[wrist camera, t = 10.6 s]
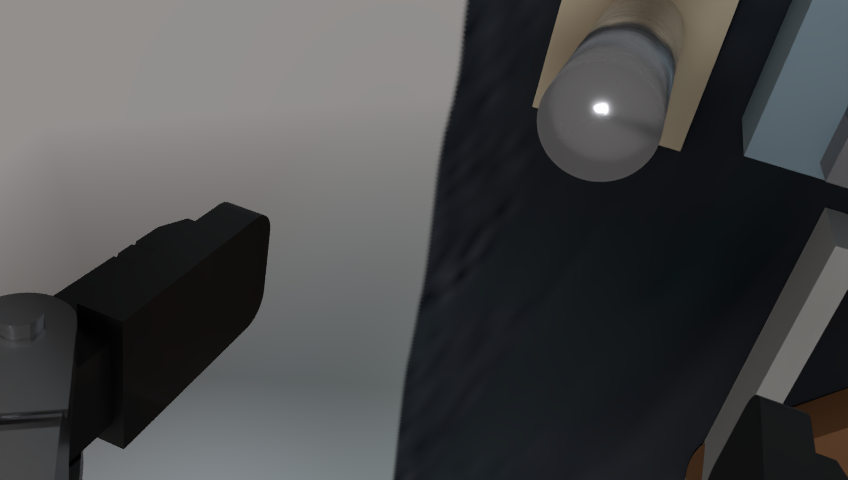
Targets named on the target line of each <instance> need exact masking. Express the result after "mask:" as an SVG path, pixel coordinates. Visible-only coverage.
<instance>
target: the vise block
mask: <svg viewBox="0 0 848 480" xmlns="http://www.w3.org/2000/svg"><path fill="white" fill-rule="evenodd" d="M742 130H743V147H744V156H746V157H749V158H752V159H756V160H759V161H762V162H766V163H769V164H772V165H776V166H779V167H782V168H786V169H789V170H792V171H796V172H799V173H802V174H806V175H809V176H812V177H816V178H819V179H823V180H825V182H828V183H832V184H835V185H838V186H842V187H845V188H848V0H792V2H791V4H790V6H789V9H788V11H787V13H786V16H785V18H784V20H783V23H782V25H781V27H780V30H779V32H778V34H777V37H776V39H775V42H774V44H773V46H772V49H771V51H770V53H769V56H768V58H767V60H766V63H765V65H764V67H763V70H762V72H761V74H760V77H759V79H758V81H757V84H756V86H755V89H754V91H753V93H752V96H751V98H750V100H749V103H748V105H747V107H746V110H745V112H744V114H743V117H742Z"/></svg>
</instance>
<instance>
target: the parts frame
mask: <svg viewBox="0 0 848 480" xmlns="http://www.w3.org/2000/svg"><path fill="white" fill-rule="evenodd" d="M847 289H848V214H845V213H842V212H839V211H836V210H832V209H829V208H826V207H825V209H824V211H823V213H822V214H821V216H820V218H819V220H818V222H817V224H816V226H815V228H814V230H813V232H812V234H811V236H810V238H809V240H808V242H807V244H806V245H805V247H804V249H803V251H802V253H801V255H800V257H799V259H798V261H797V263H796V265H795V267H794V269H793V271H792V273H791V275H790V276H789V278H788V280H787V282H786V284H785V286H784V288H783V290H782V292H781V294H780V296H779V298H778V300H777V302H776V304H775V306H774V307H773V309H772V311H771V313H770V315H769V317H768V319H767V321H766V323H765V325H764V327H763V329H762V331H761V333H760V335H759V337H758V338H757V340H756V342H755V344H754V346H753V348H752V350H751V352H750V354H749V356H748V358H747V360H746V362H745V364H744V366H743V368H742V369H741V371H740V373H739V375H738V377H737V379H736V381H735V383H734V385H733V387H732V389H731V391H730V393H729V395H728V397H727V399H726V400H725V402H724V404H723V406H722V408H721V410H720V412H719V414H718V416H717V418H716V420H715V422H714V424H713V426H712V428H711V430H710V431H709V433H708V435H707V437H706V439H705V441H704V443H705V451H704V463H703V473H702V480H708V478H709V475H710V473H711V470H712V468H713V466H714V464H715V462H716V460H717V459H718V457H719V455H720V453H721V451H722V449H723V447H724V446H725V444H726V442H727V440H728V438H729V436H730V434H731V432H732V431H733V429H734V427H735V425H736V423H737V421H738V419H739V418H740V416H741V414H742V412H743V410H744V408H745V406H746V405H747V403H748V401H749V400H750V399H751V398H752V397H753V396H754V395H759V396H762V397H765V398H768V399H771V400H773V401H776V402H779V403H782V404H783V402H784V400H785V399H786V397H787V395H788V393H789V392H790V390H791V388H792V386H793V385H794V383H795V381H796V379H797V378H798V376H799V374H800V372H801V370H802V369H803V367H804V365H805V363H806V362H807V360H808V358H809V356H810V355H811V353H812V351H813V349H814V348H815V346H816V344H817V342H818V341H819V339H820V337H821V335H822V333H823V332H824V330H825V328H826V326H827V325H828V323H829V321H830V319H831V318H832V316H833V314H834V312H835V311H836V309H837V307H838V305H839V304H840V302H841V300H842V298H843V296H844V295H845V293H846V291H847ZM704 443H703V444H704ZM685 480H686V478H685Z"/></svg>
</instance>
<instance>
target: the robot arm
mask: <svg viewBox="0 0 848 480" xmlns="http://www.w3.org/2000/svg"><path fill="white" fill-rule="evenodd" d="M269 236H270V222H269V219H268V217H267V216H264V215H262V214H259V213H256V212H254V211H251V210H248V209H245V208H242V207H239V206H237V205H234V204H231V203H228V202H224V203H221V204H219V205H218V206H216V207H215V208H214V209H212V210H211V211H209V212H208V213H206V214H205V215H203V216H202V217H201V218H199V219H198V220H196V221H193V220H190V219H185V220H181V221H178V222H174V223H171V224H167V225H164V226H160V227H158V228H156V229H155V230H153V231H152V232H150V233H148V234H147V235H145V236H144V237H142V238H141V239H139V240H138V241H136V244H135V245H130V246H129V247H127V248H126V249H124V250H123V251H121V252H120V253H118V256H117V257H112V258H110V259H109V260H107V261H106V262H105V263H103V264H101V265H100V266H98V267H97V268H95V269H94V270H92V271H91V272H89V273H88V274H86V275H84V276H83V277H81V278H80V279H78V280H77V281H75V282H74V283H72V284H71V285H69V286H68V287H66V288H65V289H63V290H62V291H60V292H59V293H57V294H55V295H54V296H51V295H47V294H40V293H16V294H9V295H5V296H1V297H0V480H82V476H83V450H84V449H85V448H86V447H87V446H88V445H89V444H90V443H91V442H92V441H93V440H94V439H96V438H97V437H98V438H100V439H102V440H105V441H107V442H109V443H111V444H113V445H116V446H118V447H120V448H122V449H124V448H125V447H126V446H127V445H128V444H129V443H131V441H133V439H135V438H136V437H137V436H138V435H139V434H140V433H141V431H143V430H144V429H145V427H147V426H148V425H149V424H150V423H151V421H153V420H154V419H155V418H156V417H157V416H158V415H159V414H160V413H161V412H162V411H163V410H164V409H165V408H166V407H167V406H168V405H169V404H170V403H171V402H172V401H173V400H174V399H175V398H176V397H177V396H178V395H179V394H180V393H181V392H182V391H183V390H184V389H185V388H186V387H187V386H188V385H189V384H190V383H191V382H192V381H193V380H194V379H195V378H196V377H197V376H198V375H200V374H201V372H202V371H204V369H206V368H207V367H208V366H209V365H210V364H211V363H212V362H213V361H214V360H215V359H216V358H217V357H218V356H219V355H220V354H221V353H222V352H223V351H224V350H225V349H226V348H227V347H228V346H229V345H230V344H231V343H232V342H233V341H234V340H235V339H236V338H237V337H238V336H239V335H240V334H241V333H242V332H243V331H244V330H245V329H246V328H247V327H248V326H249V325H250V323H251V322H252V321H253V319H254V318H255V315H256V314H257V312H258V309H259V307H260V304H261V301H262V298H263V293H264V284H265V275H266V265H267V255H268V245H269ZM708 480H848V477H847V475H846V474H845V472H844V471H843V469H842V468H841V466H840V465H839V463H838V461H837V460H834V459H832V458H829V457H826V456H824V455H821V454H818V453H816V451H815V444H814V437H813V430H812V423H811V418H810V415H809V414H808V413H807V412H804V411H801V410H798V409H795V408H793V407H790V406H787V405H784V404H782V403H779V402H776V401H773V400H771V399H768V398H765V397H762V396H759V395H754V396H753V397H752V398H751V399H750V400H749V401H748V403H747V405H746V406H745V408H744V410H743V412H742V414H741V416H740V418H739V419H738V421H737V423H736V425H735V427H734V429H733V431H732V432H731V434H730V436H729V438H728V440H727V442H726V444H725V446H724V447H723V449H722V451H721V453H720V455H719V457H718V459H717V460H716V462H715V464H714V466H713V468H712V470H711V473H710V475H709V478H708Z"/></svg>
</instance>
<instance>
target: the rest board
mask: <svg viewBox="0 0 848 480" xmlns="http://www.w3.org/2000/svg"><path fill="white" fill-rule="evenodd" d="M613 1H614V0H562V1H561V5H560V8H559V12H558V16H557V19H556V23H555V26H554V30H553V34H552V37H551V41H550V45H549V48H548V52H547V55H546V59H545V63H544V66H543V70H542V73H541V77H540V81H539V84H538V88H537V92H536V95H535V99H534V102H533V106H532V107H535V108H539V104H540V101H541V98H542V96H543V95H544V93H545V91H546V89H547V88H548V87H549V85H550V84H551V82H552V81H553V80H554V78H555V77H556V76H557V74H558V73H559V72H560V70H561V69H562V68H563V66H564V65H565V64H566V62H567V61H568V60H569V58H570V57H571V55H572V54H573V53H574V51H575V50H576V49H577V47H578V46H579V45H580V43H581V42H582V41H583V39H584V38H585V37H586V35H587V34H588V33H589V31H590V30H591V29H592V27H593V26H594V24H595V23H596V22H597V20H598V19H599V18H600V16H601V15H602V14H603V12H604V11H605V10H606V8H607V7H608V6H609V5H610V4H611V3H612V2H613ZM671 1H672V2H673V3H674V4H675V5H676V6H677V8H678V10H679V11H680V14H681V16H682V19H683V24H684V36H683V42H682V46H681V51H680V55H679V60H678V64H677V69H676V73H675V78H674V83H673V87H672V92H671V96H670V101H669V105H668V110H667V115H666V119H665V124H664V128H663V133H662V137H661V140H660V143H659V145H660V146H664V147H667V148H670V149H674V150H677V151H680V150H681V148H682V145H683V143H684V140H685V138H686V135H687V133H688V130H689V127H690V125H691V122H692V120H693V117H694V115H695V112H696V110H697V107H698V104H699V102H700V99H701V97H702V94H703V92H704V89H705V87H706V84H707V81H708V79H709V76H710V74H711V71H712V69H713V66H714V64H715V61H716V58H717V56H718V53H719V51H720V48H721V46H722V43H723V41H724V38H725V36H726V33H727V30H728V28H729V25H730V23H731V20H732V18H733V15H734V13H735V10H736V7H737V5H738V2H739V0H671Z"/></svg>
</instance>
